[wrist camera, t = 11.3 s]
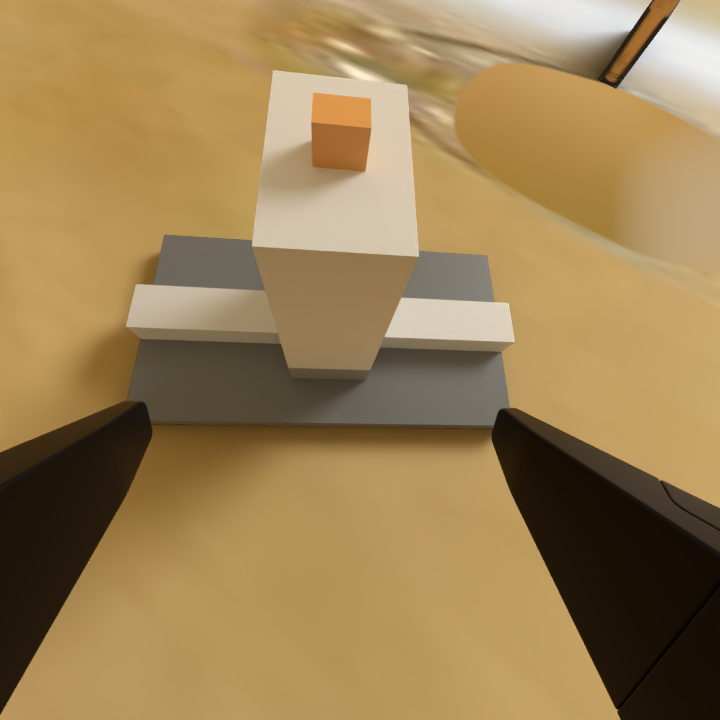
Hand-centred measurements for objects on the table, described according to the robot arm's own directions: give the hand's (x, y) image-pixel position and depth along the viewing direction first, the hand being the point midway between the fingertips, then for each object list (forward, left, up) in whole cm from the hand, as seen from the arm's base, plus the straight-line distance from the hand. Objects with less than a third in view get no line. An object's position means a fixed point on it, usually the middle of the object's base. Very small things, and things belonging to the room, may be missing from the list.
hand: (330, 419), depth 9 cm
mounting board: (+7, +1, -10) cm, 12 cm away
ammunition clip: (+42, -19, -10) cm, 48 cm away
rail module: (+7, +1, -9) cm, 11 cm away
